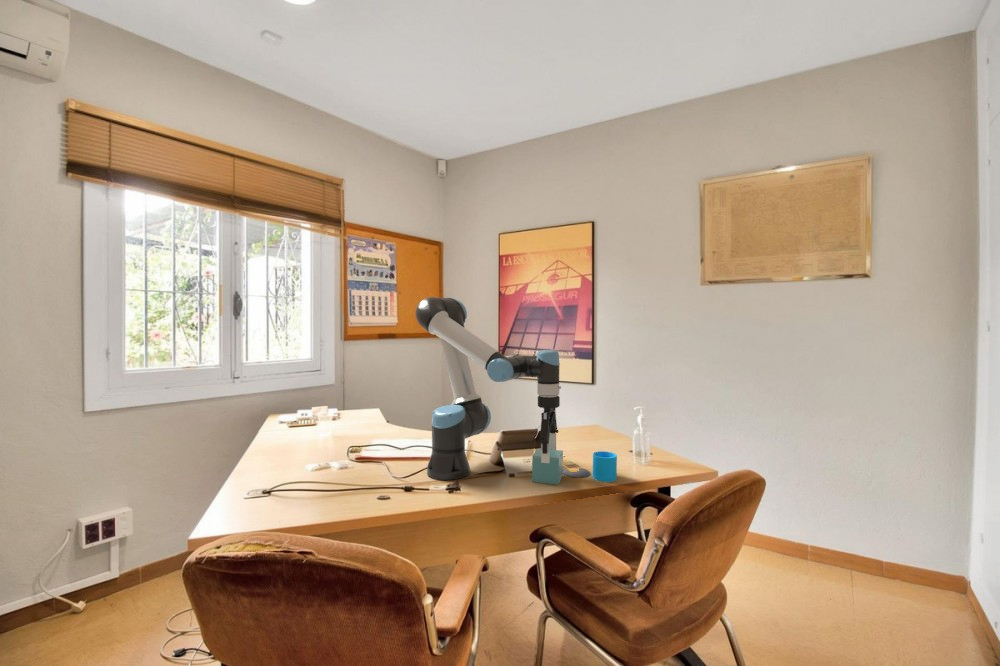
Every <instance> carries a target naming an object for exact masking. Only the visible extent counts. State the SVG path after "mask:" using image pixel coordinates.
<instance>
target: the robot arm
mask: <svg viewBox="0 0 1000 666" xmlns="http://www.w3.org/2000/svg"><path fill="white" fill-rule="evenodd" d="M466 308H467V307H466V306H465V305H464V304H463V302H462V301H460V300H459V299H457V298H454V297H453V298H452V297H435V296H434V297H433V296H431V297H429V296H428V297H425V298H423V299H422V300H421V301H420V302H419V303H418V304H417V306H416V308H415V319H416V321H417V323H418V325H420V326H421V328H423V329H424V330H425V331H426V332H427V333H429V334H431V335H434V336H436V337H438V338H439V339H440V343H441V346H442V352H443V355H444V361H445V364H446V369H447V374H448V376H449V381H450V385H451V386H450V387H451V390H452V395H453V400H452V402H451V404H448V405H442V406H439V407H437V408H435V409H434V410H433V412H432V414H431V416H432V419H431V455H430V457H429V461H428V464H427V467H426V475H427V476H428V477H430V478H432V479H436V480H441V481H442V480H443V481H445V480H446V481H448V480H449V481H450V480H451V481H452V480H458V479H463V478H466V477H467V476H468V475H469V474H470V471H471V469H470V463H469V460H468V457H467V454H466V448H465V447H466V446H465V445H466V439H468V438H471V437H473V436H476V435H480V434H481V433H483V432H485V431H486V430H487V429H488V428H489V426H490V424H491V418H492V414H491V411H490V408H489V407H488V406H487V405H486V404H485V403H484V402H483V401H482V397H481V396H480V395H479V394H478V393H476V392H477V391H476V388H475V385H474V380H473V375H472V371H471V366H470V363H469V359H470V360H472V361H473V362H474V363H475V364H477V365H479V366H480V367H481V368H482V369H484V370H486V373H487V375H488V377H489V379H490V380H491V381H493V382H496V383H500V382H501V383H505V382H507V381H511V380H516V379H519V378H537V380H536V381H537V392H536V393H537V395H538V396H537V407H539V408H541V409H543V412H541V414H540V415H541V421H540V432H539V433H540V435H539V440H538V444H540V449H541V463H550V450H557V434H558V433H559V429H558V425H557V414H556V413H557V412H556V409H557V408H559V407H560V405H561V404H560V403H561V401H560V400H561V399H560V396H559V395H560V389H562V386H561V385H560V366H561V365H560V364H561V363H560V353H559V351H557V350H554V349H552V350H551V349H550V350H549V349H548V350H547V349H546V350H545V349H543V350H539V351H537V353H536V355H520V354H514V355H513V354H512V355H508V356H505V354H503V353H501V352H500V351H498V349H495V348H494V347H493V346H491V345H490V344H488V343H487V342H486V341H484V340H483V339H481V338H480V337H478V336H477V335H475V334H474V333H472V331H469V330H468V329H467V328H465V323H466V321H467V317H468V312H467V309H466Z"/></svg>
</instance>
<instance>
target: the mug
mask: <svg viewBox="0 0 1000 666" xmlns="http://www.w3.org/2000/svg"><path fill="white" fill-rule="evenodd" d="M617 461H618V455H617V454H616V453H614V452H612V451H611V452H610V451H604V450H603V451H602V450H601V451H599V450H598V451H595V452H593V453H592V479H593V480H595V479H596V480H595V481H599V482H602V481H604V482H605V483H612V482H616V480H617V477H618V476H617V474H618V473H617V471H618V470H617V468H618V462H617ZM604 482H603V483H604Z"/></svg>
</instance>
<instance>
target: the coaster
mask: <svg viewBox="0 0 1000 666" xmlns="http://www.w3.org/2000/svg"><path fill="white" fill-rule="evenodd" d="M578 468H579V471H578V472H570V471H568V470H566V469H564V468H563V476H566V477H569V478H576V479H577V478H579V479H580V478H581V479H582V478H587V477H589V475H591V472H590V470H588V469H586V468H583V467H578Z"/></svg>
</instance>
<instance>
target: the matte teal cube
mask: <svg viewBox="0 0 1000 666" xmlns="http://www.w3.org/2000/svg"><path fill="white" fill-rule="evenodd" d="M563 459H564V450H560V449H559V450H558V449H556V450H550V463H541V448H537V449H536V450H535V452H534V453H533V454H532V459H531V460H532V467H531V468H532V471H531V472H532V473H531V476H532V477H531V480H532V483H537V484H538V483H539V484H547V485H548V484H549V485H557V486H558V485H560V482H561V480H562V478H563V476H564V475H563V469H564V468H563V467H564V466H563V465H564V461H563Z"/></svg>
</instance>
